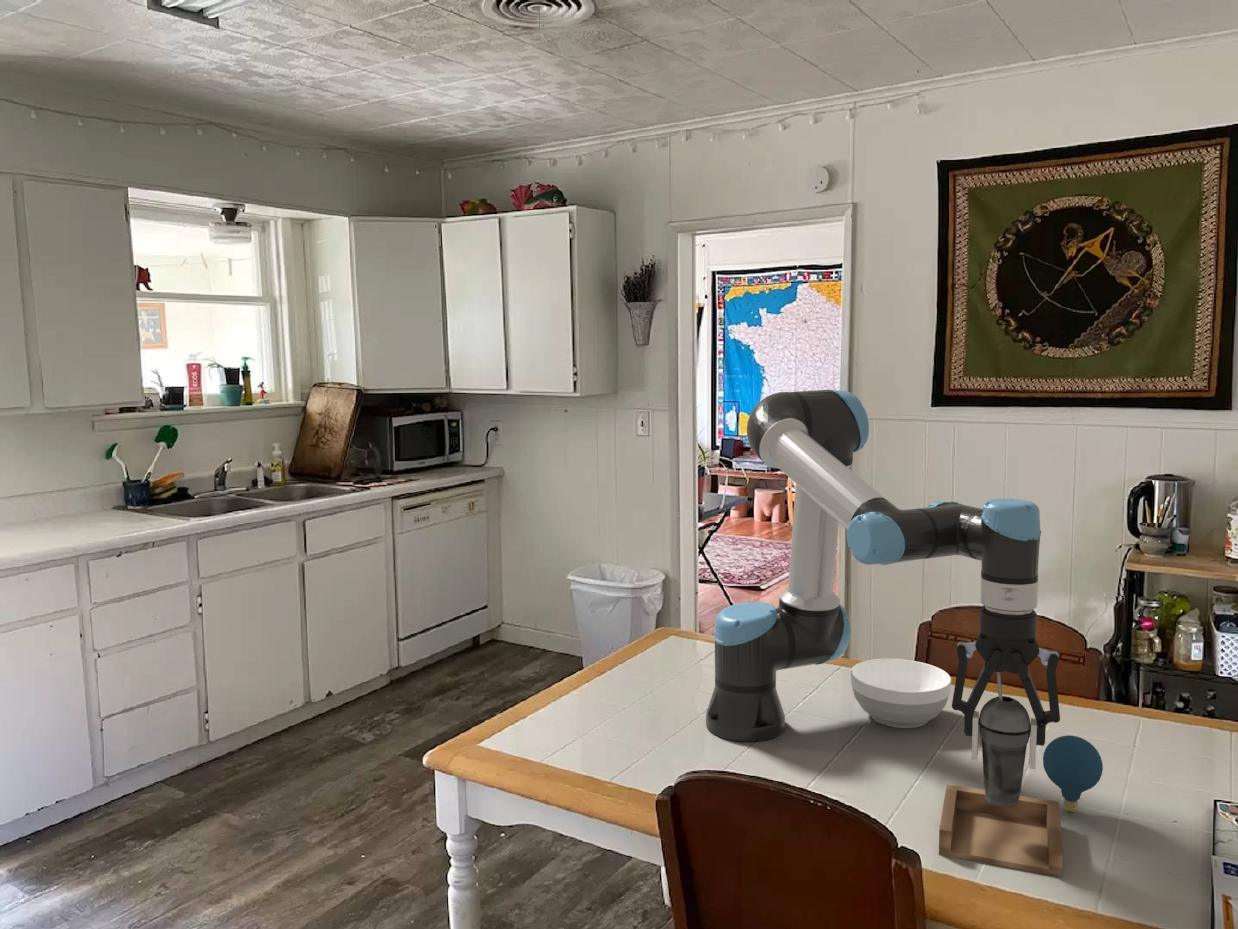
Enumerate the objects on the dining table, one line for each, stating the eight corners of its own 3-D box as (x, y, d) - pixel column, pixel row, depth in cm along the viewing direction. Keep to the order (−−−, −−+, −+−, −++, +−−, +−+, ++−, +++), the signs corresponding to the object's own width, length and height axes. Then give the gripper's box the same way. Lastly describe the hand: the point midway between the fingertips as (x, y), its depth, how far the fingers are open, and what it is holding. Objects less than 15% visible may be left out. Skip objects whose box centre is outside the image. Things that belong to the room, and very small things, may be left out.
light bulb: (1030, 799, 150) (1033, 728, 148) (1080, 797, 151) (1083, 725, 149) (1059, 826, 142) (1062, 750, 140) (1112, 823, 142) (1116, 747, 141)
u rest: (938, 854, 134) (939, 829, 134) (946, 806, 148) (946, 784, 148) (1061, 877, 128) (1062, 851, 128) (1057, 825, 142) (1058, 801, 141)
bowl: (842, 729, 179) (843, 685, 178) (857, 694, 196) (857, 654, 195) (947, 743, 172) (948, 697, 171) (952, 706, 189) (953, 664, 188)
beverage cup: (1034, 814, 133) (1039, 678, 130) (979, 810, 134) (984, 675, 132) (1022, 790, 140) (1027, 661, 138) (971, 787, 141) (975, 659, 139)
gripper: (932, 608, 134) (929, 760, 137) (1088, 621, 126) (1080, 783, 129) (936, 595, 141) (933, 741, 144) (1084, 607, 133) (1077, 761, 136)
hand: (1003, 760), depth 137 cm, fingers closed on beverage cup, 7 cm apart
